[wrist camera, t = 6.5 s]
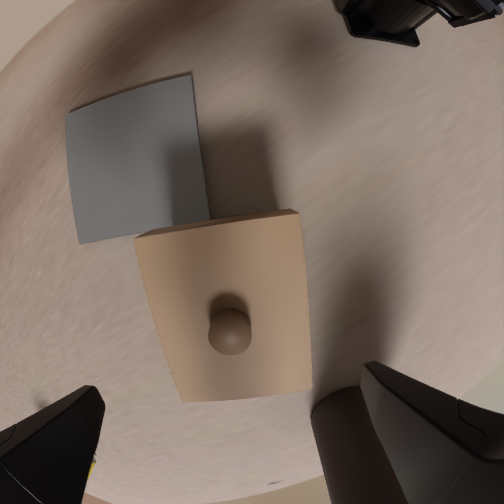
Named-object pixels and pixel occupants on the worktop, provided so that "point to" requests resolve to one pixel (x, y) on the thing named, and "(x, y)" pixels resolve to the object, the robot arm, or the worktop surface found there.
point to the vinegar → (353, 452)
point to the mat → (136, 162)
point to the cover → (230, 304)
